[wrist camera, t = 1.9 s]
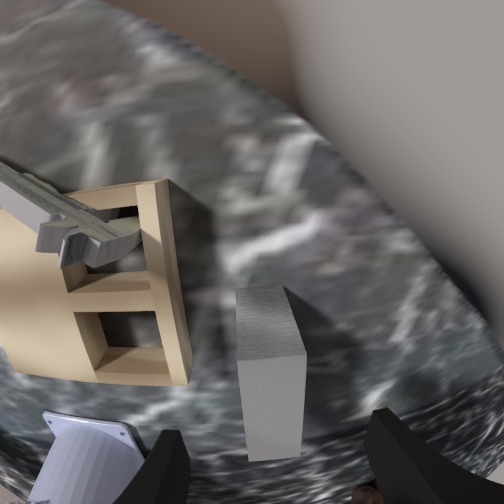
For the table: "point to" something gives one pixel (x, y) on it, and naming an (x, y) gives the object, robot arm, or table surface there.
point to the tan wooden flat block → (94, 300)
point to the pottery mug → (368, 495)
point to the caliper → (67, 221)
